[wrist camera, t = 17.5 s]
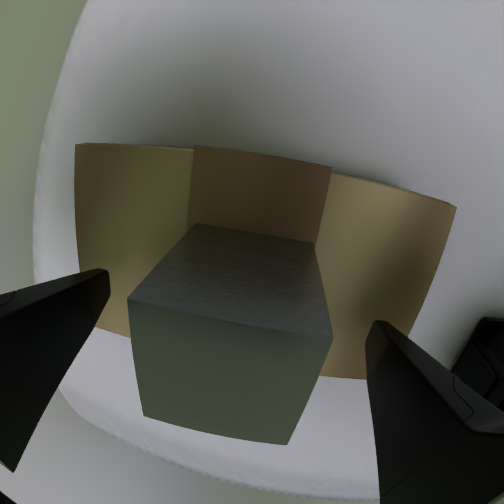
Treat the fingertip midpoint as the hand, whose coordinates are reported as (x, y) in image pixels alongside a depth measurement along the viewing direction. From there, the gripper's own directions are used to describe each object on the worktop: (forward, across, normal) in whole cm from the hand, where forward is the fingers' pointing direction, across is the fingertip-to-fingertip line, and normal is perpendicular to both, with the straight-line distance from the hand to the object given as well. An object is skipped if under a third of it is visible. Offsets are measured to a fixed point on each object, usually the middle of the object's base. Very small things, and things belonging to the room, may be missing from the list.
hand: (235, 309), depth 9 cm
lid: (+3, 0, 0) cm, 3 cm away
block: (+2, 0, 0) cm, 2 cm away
